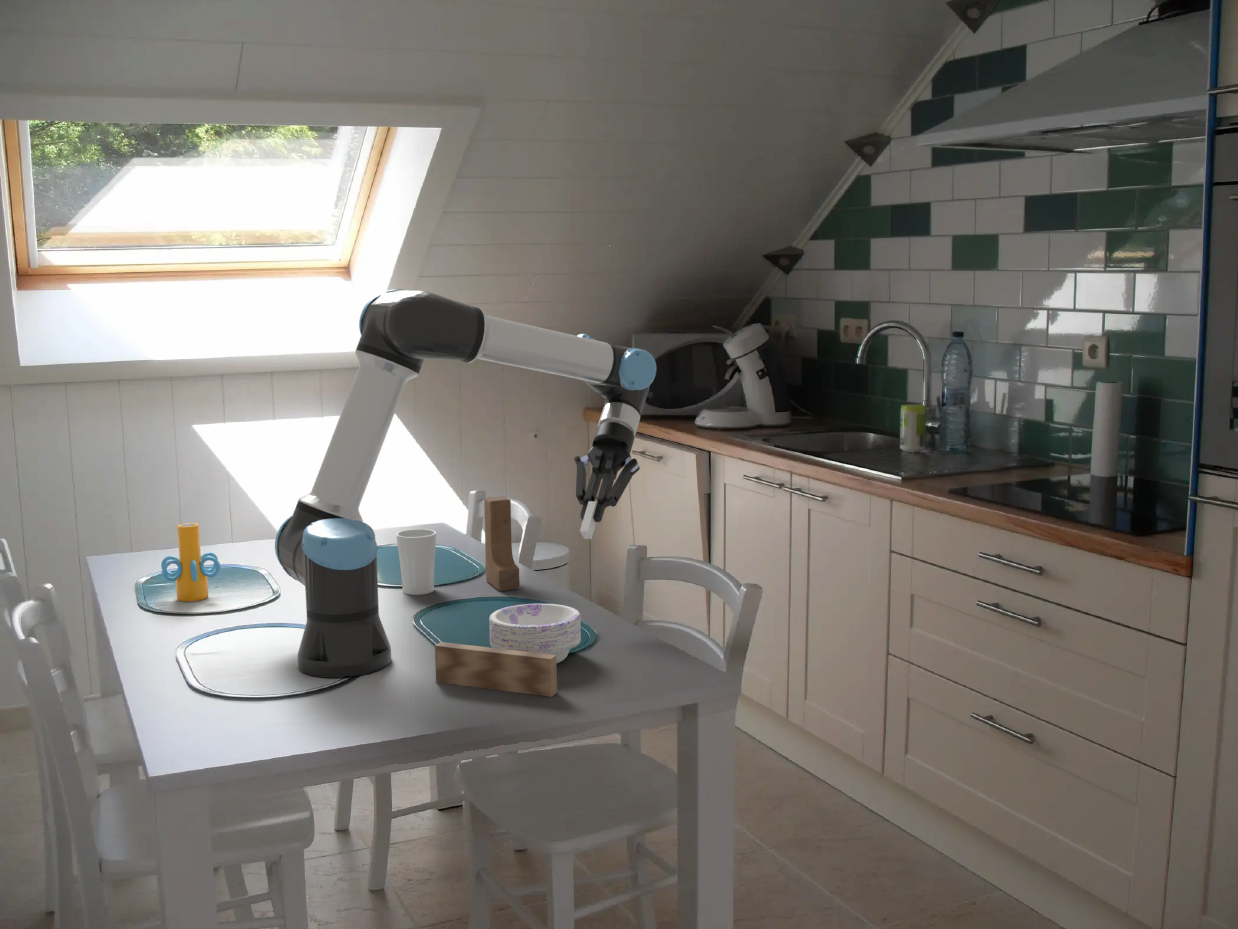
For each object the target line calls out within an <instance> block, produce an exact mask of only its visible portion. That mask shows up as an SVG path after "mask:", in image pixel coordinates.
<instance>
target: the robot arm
mask: <svg viewBox="0 0 1238 929" xmlns="http://www.w3.org/2000/svg"><path fill="white" fill-rule="evenodd" d="M358 322H359V323H358V324H359V333H360V337H359V340H358V343H357V346H356V348H355V352H354V353H355V355H356V358H357V360H358V362H359V363H358V364H359V366H358V369H357V370H356V374H355V376H354V379H353V382H352V383H351V387H350V388H349V389H350V390H349V392H348V394H347V396H346V399H345V402H344V404H343V407H342V410H341V413H340V415H339V417H338V421H337V423H336V425H335V429H334V432H332V433H333V434H332V436H331V439H330V442H329V445H328V447H327V449H326V452H325V455H324V457H323V459H322V463H321V465H320V467H319V470H318V473H317V475H316V478H315V481H314V483H313V486H312V489H311V491H310V492H309V493H308V494H305V495H303V496H302V497H300V498H299V499H298V500H297V503H296V506H295V508H294V511H293V513H292V515H291V516H289V517H288V518H287V519H286V520H285V521H284V522H283V523H282V524H281V525H280V527H279V529H278V531H277V533H276V536H275V539H274V552H275V556H276V558H277V560H278V563H279V565H281V567H282V569H283V571H284V572H285V573H286V575H288V576H289V577H291V578H292V579H294V580H295V581H297V582H299V583H300V584H302V585H303V586H304V590H305V610H306V622H305V623H306V624H305V627H304V630H303V633H302V637H301V641H300V645H299V649H298V652H297V665H298V666H297V667H298V669H299V671H301V672H302V673H303V674H307V675H310V676H313V677H319V678H344V677H343V676H350V677H357V676H363V675H367V674H370V673H374V672H377V671H380V670H382V669H384V668H386V667H387V666H388V665H390V664H391V662H392V647H391V643H390V641H389V638H388V636H387V633H386V631H385V628H384V626H383V622H382V620H381V617H380V611H379V609H380V608H379V585H378V582H379V580H378V557H377V556H378V543H377V540H376V534H375V531H374V529H373V528H372V527H371V526H370V525H369V524H368V523H366V522H364V520H363V517H362V516H361V514H360V510H359V509H360V505H361V502H362V500H363V496H364V495H365V493H366V490H367V487H368V484H369V482H370V480H371V476H372V474H373V471H374V468H375V466H376V463H377V461H378V458H379V455H380V452H381V450H382V447H383V444H384V442H385V441H386V440H385V439H386V437H387V434H388V432H389V429H390V426H391V424H392V421H393V418H394V416H395V413H396V411H397V407H398V405H399V403H400V400H401V397H402V395H403V392H404V389H405V387H406V384H407V382H409V381H410V380H413V379H416V378H417V377H419V375H420V372H421V369H422V367H423V364H424V361H425V360H442V361H443V360H444V361H455V362H461V363H467V364H470V363H473V362H475V360H477V359H478V360H482V361H485V362H486V361H487V362H493V363H497V364H501V365H507V366H511V367H517V368H522V369H526V370H527V369H528V370H532V371H537V372H542V373H547V374H551V375H557V376H561V377H562V376H563V377H566V378H572V379H576V380H581V381H582V382H583V383H585V384H586V385H587V386H589V387H590V388H591V389H592V390H594V391H595V392H596V393H597V394H599V395H600V396H601V397H602V398H604V403H603V408H602V411H601V414H600V418H599V419H598V420H599V421H598V424H597V427H596V429H595V433H594V437H593V441H592V445H591V448H590V449H589V450H588V451H587V454H586V455H583V456H579V455H576V456H575V457H574V458H573V460H574V463H575V464H576V477H575V478H576V482H575V484H576V486H575V497H576V499H577V502H578V503H579V505H581V506H582V507H581V511H580V518H581V520H582V522H581V526H580V529H579V532H580V534H581V536H582V538H583V540H592V539H593V535H594V532H595V528H596V524H597V523H601V522H602V520H603V516H604V513H605V510H606V508H609V507H612V508H613V507H616V506H617V504H618V503H619V500H620V499H621V497H622V496H623V494H624V492H625V490H626V488H627V487H628V485H629V483H630V481H631V479H632V478H633V476H634V475H635V474H637V472H639V471H640V469H641V467H640V464H639V462H638V460H637V458H632V455H631V452H632V450H633V445H634V442H635V436H636V434H637V431H638V427H639V424H640V420H641V416H642V413H643V410H644V406H645V404H646V401H647V397H648V394H649V391H650V386H651V384H652V383H653V382H654V380H655V377H656V375H657V363H656V360H655V358H654V357H653V355H652V354H651V353H650V352H649V351H647V350H645V349H641V348H638V347H627V346H624V345H623V346H622V345H619V344H614V343H608V342H606V341H602V340H601V341H600V340H596V339H595V338H593V337H591V336H589V335H588V334H586V333H580V334H577V335H575V334H570V333H566V332H562V331H556V330H552V329H547V328H544V327H539V326H535V325H530V324H526V323H522V322H517V321H514V320H509V319H504V318H501V317H495V316H491V315H486V313H485V312H484V310H483V309H482V308H481V307H479V306H474V305H470V304H465V303H463V302H460V301H456V300H453V299H450V298H448V297H445V296H442V295H439V294H437V293H433V292H430V291H426V290H406V289H402V288H401V289H400V288H399V289H398V288H397V289H396V288H395V289H390V290H386V291H383V292H380V293H378V294H376V295H375V296H373V297H371V298H370V299H369V301H367V302H366V304H365V305H364V306H363V309H362V311H361V313H360V316H359V320H358ZM589 463H590V464H591V466H592V467H591V471H592V472H591V474H590V477H589V481H588V484H587V475H588V474H587V469H588V467H589ZM621 469H622V470H621ZM619 471H620V473H619V474H618V472H619ZM617 475H618V476H617Z"/></svg>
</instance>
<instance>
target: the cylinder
mask: <svg viewBox="0 0 1238 929" xmlns="http://www.w3.org/2000/svg"><path fill="white" fill-rule="evenodd" d="M176 527H177V538H178V539H177V541H178V555H179V556H178V557H177V556H174V555H168V556H166V557H164V558H163V559H162V560H161V563H160V564H161V565H160V566H161V568H160V569H161V574H162V577H163V578H164V579H165V580H166V581H168V582H174V581H175V588H176V589H175V590H176V600H177V601H179V602H184V603H192V602H199V601H202V600H205V599H208V597H209V581H208V578H215V577H216V576H218V575H219V573H220V572H221V564H220V561H219V558H218V556H217V555H216V554H215V553H214V552H212V551H211V552H205V553H203V554H201V541H200V540H201V539H200V525H199V523H197V522H187V523H186V522H185V523H181V524H178V525H176ZM207 561H211V562H213V565H212V567H210V568H207V569H206V568H205V563H206V562H207ZM172 564H174V565H176V566H177V570H175V571H174V572H171V571H169V570H168V569H167V568H168V567H169V566H170V565H172Z"/></svg>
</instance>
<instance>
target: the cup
mask: <svg viewBox="0 0 1238 929" xmlns="http://www.w3.org/2000/svg"><path fill="white" fill-rule="evenodd" d="M436 540H437V532H436V531H435V530H433V529H428V528H426V529H425V528H413V529H405V530H404V529H403V530H401V531H397V533H396V544H397V550H398V556H399V558H398V559H399V567H400V577H401V585H402V593H403V594H405V595H410V596H411V595H413V596H418V595H419V596H420V595H426V594H430V593H433V592H434V591H435V586H434V581H435V580H434V579H435V559H436V544H437V542H436Z"/></svg>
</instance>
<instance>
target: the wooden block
mask: <svg viewBox="0 0 1238 929" xmlns="http://www.w3.org/2000/svg"><path fill="white" fill-rule="evenodd" d="M483 504H484V505H483V507H484V509H483V510H484V538H485V539H484V542H485V543H484V545H485V546H484V549H485V576H486V577H485V580H486V582H487V583H488V584H489V585H491V586H492V587H493V588H494V589H495V590H497V591H499V592H505V591H506V592H508V591H513V590H514V591H516V590H519V589H520V568H519V567H518V566H517V564H516V563H515V559H514V557H513V556H514V555H513V548H512V546H513V545H512V544H513V543H512V542H513V541H512V507H511V506H512V503H511V499H510V498H508V497H506V496H504V495H501V496H489V497H488V496H487V497H485V498H484V499H483Z"/></svg>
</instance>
